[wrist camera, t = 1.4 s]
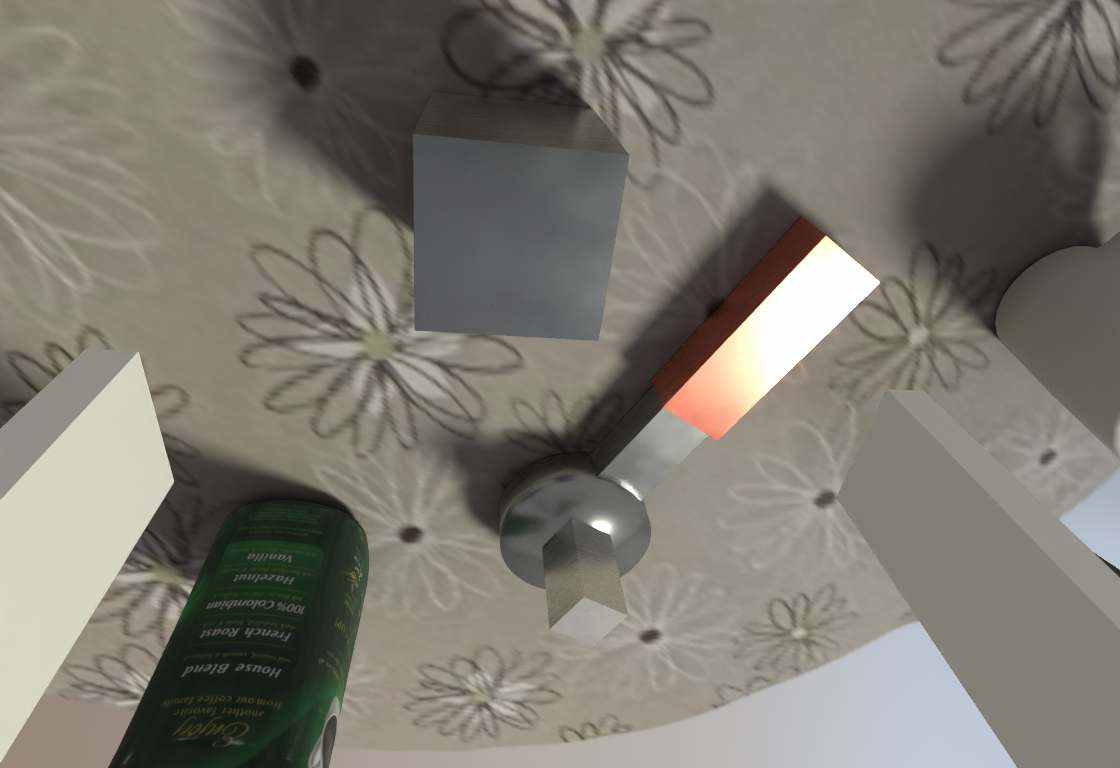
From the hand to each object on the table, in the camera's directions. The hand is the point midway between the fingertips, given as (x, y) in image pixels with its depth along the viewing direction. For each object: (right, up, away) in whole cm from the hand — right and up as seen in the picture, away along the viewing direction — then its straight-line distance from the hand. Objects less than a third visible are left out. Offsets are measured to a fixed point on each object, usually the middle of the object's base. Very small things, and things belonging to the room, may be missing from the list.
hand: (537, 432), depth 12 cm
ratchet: (+5, -1, +21) cm, 22 cm away
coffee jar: (-14, -9, +24) cm, 29 cm away
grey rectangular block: (-2, +9, +14) cm, 17 cm away
